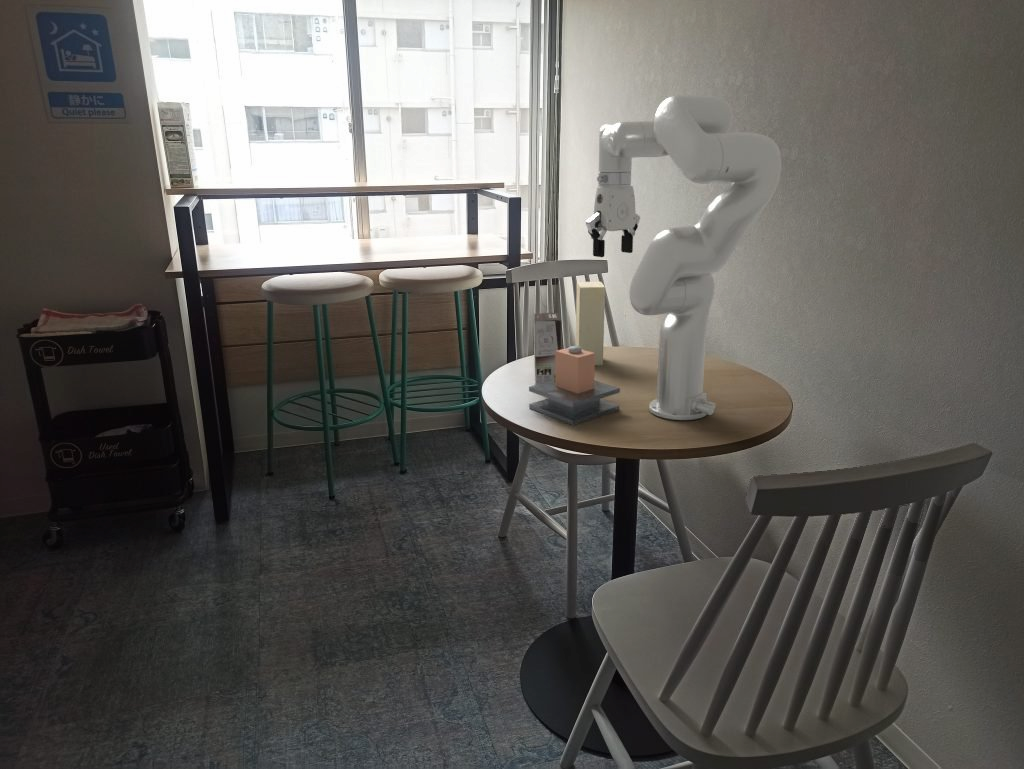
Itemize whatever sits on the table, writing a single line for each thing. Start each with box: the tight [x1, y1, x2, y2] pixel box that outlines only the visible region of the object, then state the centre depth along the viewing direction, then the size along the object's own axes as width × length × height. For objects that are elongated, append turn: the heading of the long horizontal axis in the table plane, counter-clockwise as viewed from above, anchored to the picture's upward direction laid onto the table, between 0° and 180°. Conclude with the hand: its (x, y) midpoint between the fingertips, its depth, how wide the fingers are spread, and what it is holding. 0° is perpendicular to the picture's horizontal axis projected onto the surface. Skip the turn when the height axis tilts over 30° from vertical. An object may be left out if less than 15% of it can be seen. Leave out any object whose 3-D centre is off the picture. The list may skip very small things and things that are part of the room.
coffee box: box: [533, 312, 562, 385], centre depth 178 cm, size 9×6×16 cm
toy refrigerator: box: [575, 281, 606, 366], centre depth 191 cm, size 8×7×21 cm
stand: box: [528, 379, 621, 426], centre depth 159 cm, size 14×14×5 cm
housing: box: [555, 345, 596, 394], centre depth 157 cm, size 7×5×9 cm
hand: (612, 254), depth 173 cm, fingers open, 9 cm apart
